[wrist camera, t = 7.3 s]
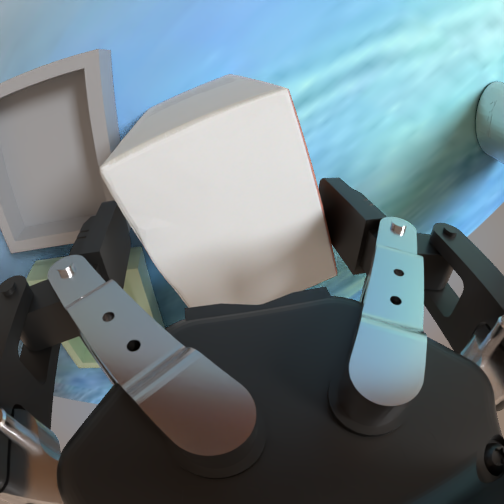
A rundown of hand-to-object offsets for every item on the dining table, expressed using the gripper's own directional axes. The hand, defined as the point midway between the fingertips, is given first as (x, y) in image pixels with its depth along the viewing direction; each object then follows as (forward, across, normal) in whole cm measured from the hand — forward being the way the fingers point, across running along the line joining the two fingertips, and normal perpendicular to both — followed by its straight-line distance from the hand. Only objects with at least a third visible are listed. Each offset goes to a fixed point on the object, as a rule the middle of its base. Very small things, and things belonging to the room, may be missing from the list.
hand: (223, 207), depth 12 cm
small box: (+11, 0, 0) cm, 11 cm away
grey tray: (+11, +12, -1) cm, 16 cm away
